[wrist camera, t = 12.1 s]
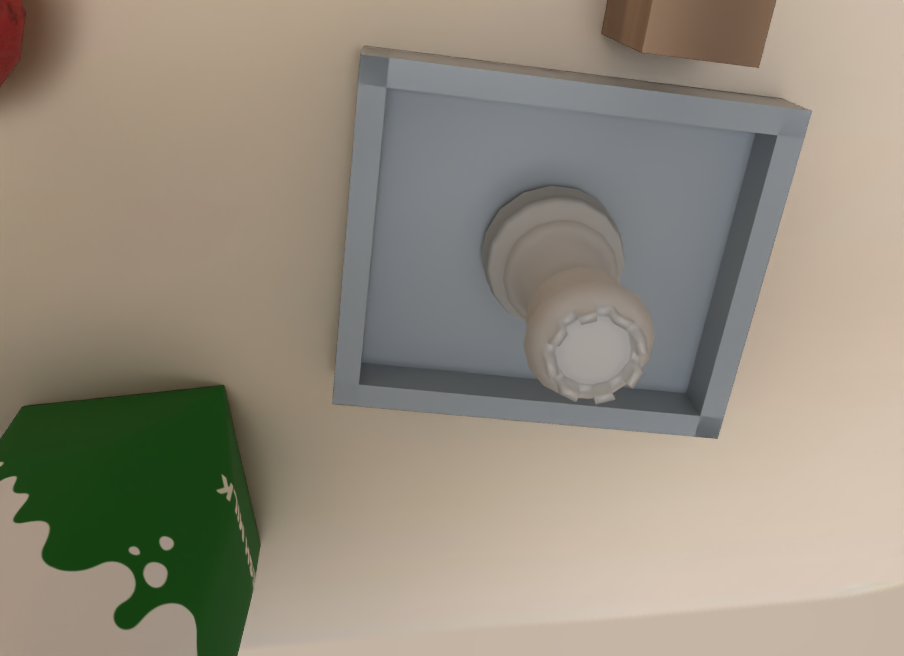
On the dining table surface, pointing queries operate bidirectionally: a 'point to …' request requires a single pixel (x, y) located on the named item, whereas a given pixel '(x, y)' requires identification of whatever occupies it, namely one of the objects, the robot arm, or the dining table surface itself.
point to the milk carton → (125, 528)
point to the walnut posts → (692, 28)
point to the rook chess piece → (568, 292)
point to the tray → (536, 166)
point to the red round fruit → (10, 35)
